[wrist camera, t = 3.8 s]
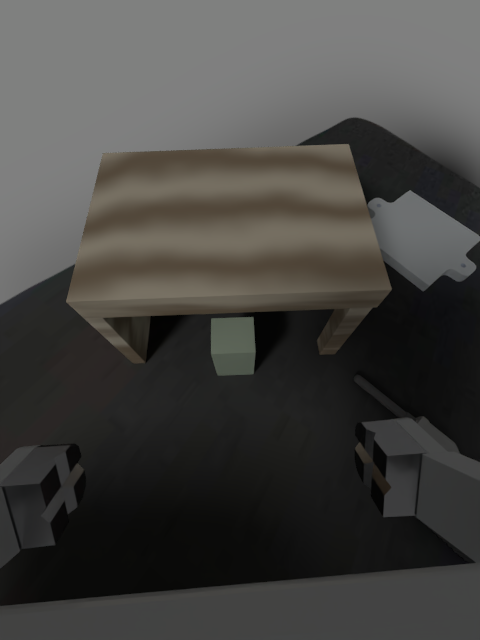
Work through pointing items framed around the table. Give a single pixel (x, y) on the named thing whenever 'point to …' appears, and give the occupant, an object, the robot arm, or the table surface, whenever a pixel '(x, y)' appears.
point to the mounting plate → (421, 240)
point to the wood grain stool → (227, 240)
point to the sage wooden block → (233, 345)
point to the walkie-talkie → (424, 424)
